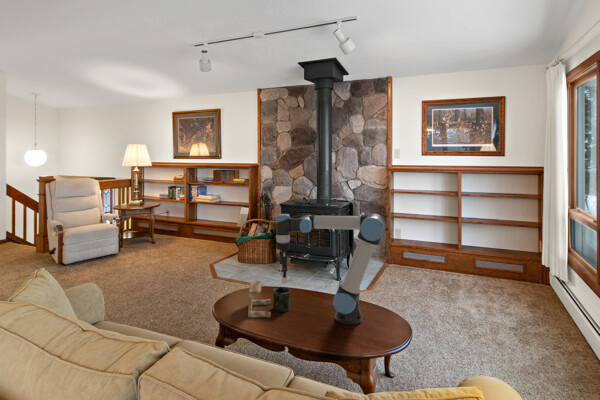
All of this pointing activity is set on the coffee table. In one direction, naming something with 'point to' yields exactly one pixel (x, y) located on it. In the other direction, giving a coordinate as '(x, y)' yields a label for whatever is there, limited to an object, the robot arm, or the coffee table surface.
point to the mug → (281, 299)
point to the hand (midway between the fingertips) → (283, 279)
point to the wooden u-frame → (256, 289)
